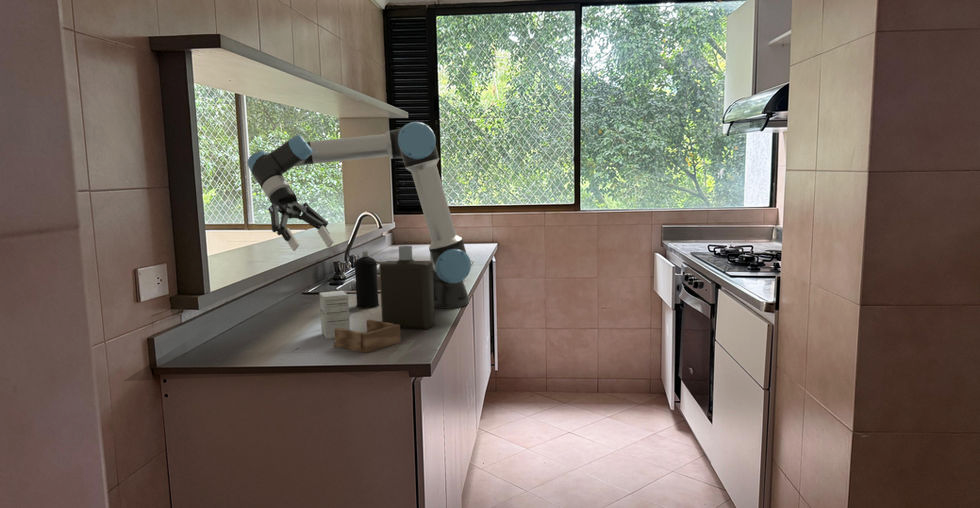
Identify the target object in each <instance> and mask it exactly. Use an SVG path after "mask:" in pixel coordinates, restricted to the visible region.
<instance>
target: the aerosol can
mask: <svg viewBox="0 0 980 508" xmlns="http://www.w3.org/2000/svg"><path fill="white" fill-rule="evenodd" d="M361 254H362V256H361V257H359V258H357V259H356V261H355V262H354V263H353V264H354V274H355V275H354V276H355V278H354V279H355V293H356V305H355V308H358V309H372V308H377V307H379V306H380V303H379V287H378V284H379V283H378V282H379V281H378V266H377V265H378V261H377V260H376V259H374V258H373V257H370V256H369V251H368V250H362V253H361Z"/></svg>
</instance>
